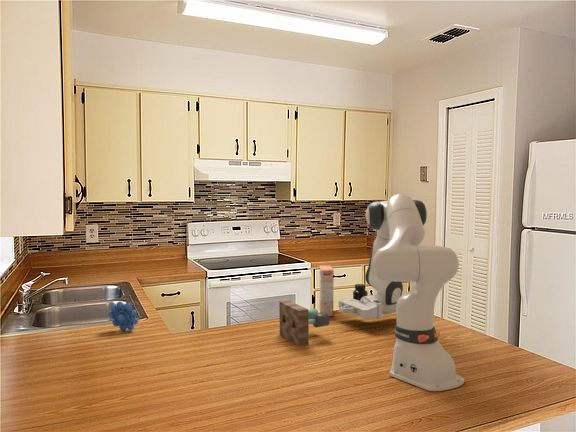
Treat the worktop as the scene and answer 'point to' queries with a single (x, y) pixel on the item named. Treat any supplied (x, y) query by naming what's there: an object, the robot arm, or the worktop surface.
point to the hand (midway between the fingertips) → (341, 310)
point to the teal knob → (311, 313)
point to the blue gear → (123, 316)
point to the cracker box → (326, 289)
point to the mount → (287, 326)
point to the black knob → (319, 320)
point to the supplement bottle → (359, 292)
